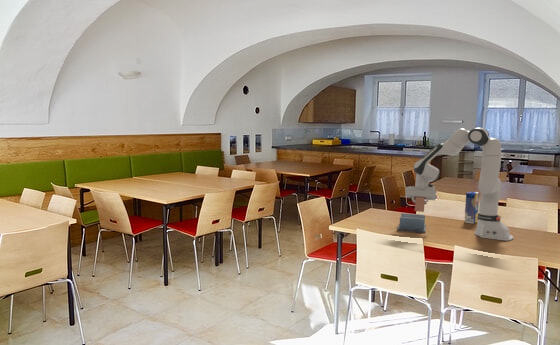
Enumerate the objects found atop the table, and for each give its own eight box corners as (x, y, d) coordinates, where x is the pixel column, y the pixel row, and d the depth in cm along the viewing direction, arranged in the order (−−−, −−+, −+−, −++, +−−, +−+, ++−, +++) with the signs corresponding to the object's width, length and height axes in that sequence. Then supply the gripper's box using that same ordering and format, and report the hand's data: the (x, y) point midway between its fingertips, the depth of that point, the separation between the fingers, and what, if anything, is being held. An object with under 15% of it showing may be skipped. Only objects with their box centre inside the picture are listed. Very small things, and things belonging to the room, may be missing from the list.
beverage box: (477, 221, 325) (479, 192, 322) (474, 223, 316) (476, 194, 314) (467, 219, 329) (469, 191, 326) (464, 222, 320) (466, 193, 318)
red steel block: (424, 210, 297) (425, 197, 295) (423, 211, 292) (424, 198, 291) (415, 209, 299) (415, 197, 298) (414, 211, 294) (415, 198, 293)
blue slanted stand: (425, 226, 305) (426, 214, 304) (425, 233, 286) (425, 220, 285) (399, 224, 311) (400, 212, 310) (397, 230, 292) (397, 218, 291)
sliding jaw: (424, 224, 303) (425, 215, 302) (424, 225, 301) (424, 215, 300) (401, 222, 309) (401, 213, 308) (400, 223, 306) (401, 213, 306)
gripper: (406, 183, 303) (404, 199, 295) (436, 185, 296) (435, 202, 288) (406, 188, 308) (404, 204, 300) (436, 191, 301) (435, 207, 293)
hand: (419, 203), depth 294 cm, fingers closed on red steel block, 6 cm apart
